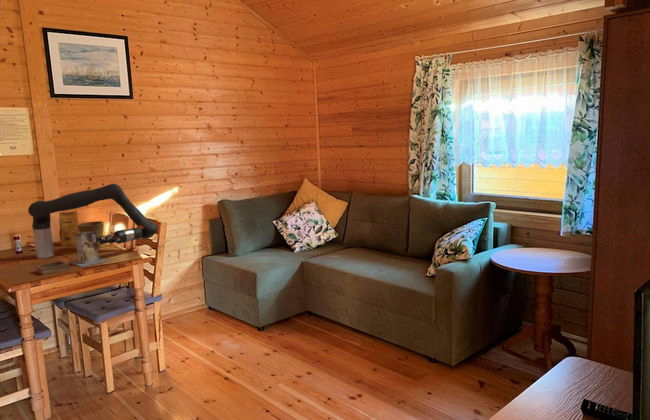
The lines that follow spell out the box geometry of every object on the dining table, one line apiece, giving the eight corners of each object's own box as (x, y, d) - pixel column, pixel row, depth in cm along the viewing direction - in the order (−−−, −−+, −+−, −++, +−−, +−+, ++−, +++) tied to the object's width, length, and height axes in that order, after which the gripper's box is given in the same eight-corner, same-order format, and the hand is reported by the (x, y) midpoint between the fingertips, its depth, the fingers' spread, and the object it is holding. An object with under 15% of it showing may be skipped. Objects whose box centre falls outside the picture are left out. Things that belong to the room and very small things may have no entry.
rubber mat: (69, 263, 275) (69, 262, 275) (96, 257, 287) (95, 256, 286) (81, 267, 266) (81, 266, 266) (108, 261, 277) (108, 259, 277)
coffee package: (60, 244, 327) (56, 211, 323) (81, 241, 332) (77, 209, 329) (60, 246, 318) (56, 213, 314) (81, 244, 324) (77, 211, 320)
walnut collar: (36, 271, 260) (35, 266, 260) (61, 266, 270) (61, 260, 269) (43, 274, 254) (42, 269, 253) (69, 268, 264) (69, 263, 263)
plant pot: (100, 244, 321) (97, 220, 318) (110, 247, 310) (107, 222, 308) (76, 249, 310) (73, 224, 308) (85, 252, 300) (82, 226, 297)
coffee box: (93, 258, 282) (90, 230, 279) (99, 259, 278) (96, 231, 276) (77, 262, 274) (74, 234, 272) (84, 263, 271) (81, 235, 268)
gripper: (117, 228, 294) (90, 233, 282) (129, 230, 285) (101, 236, 273) (118, 240, 296) (91, 246, 284) (130, 243, 286) (103, 249, 274)
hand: (96, 241), depth 278 cm, fingers open, 8 cm apart
